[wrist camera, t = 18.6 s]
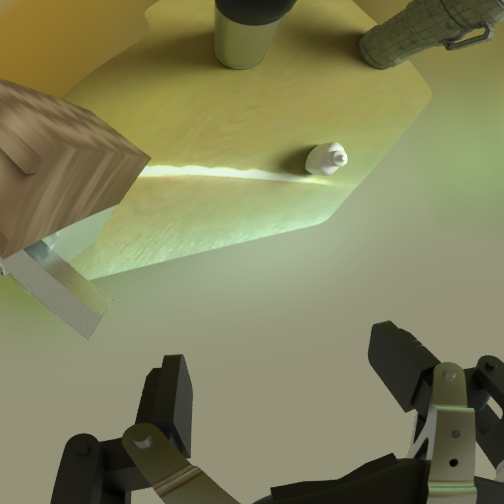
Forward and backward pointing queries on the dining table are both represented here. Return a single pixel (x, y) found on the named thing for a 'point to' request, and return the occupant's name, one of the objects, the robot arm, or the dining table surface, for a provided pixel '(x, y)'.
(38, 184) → the tall wooden box
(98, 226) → the light grey box
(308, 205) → the dining table surface
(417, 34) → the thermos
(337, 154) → the eye dropper bottle
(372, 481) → the robot arm
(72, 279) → the bar
